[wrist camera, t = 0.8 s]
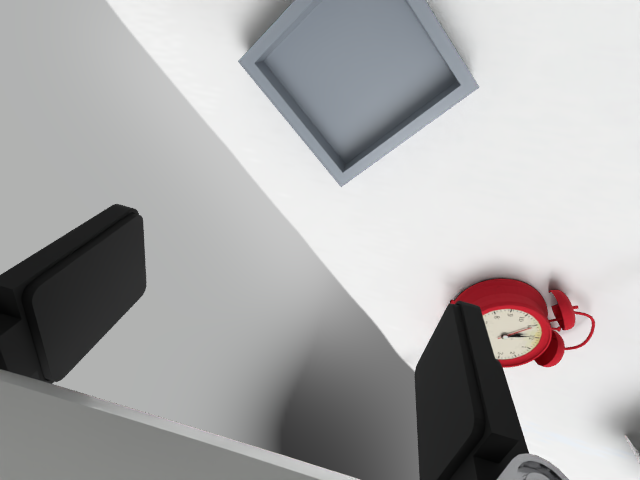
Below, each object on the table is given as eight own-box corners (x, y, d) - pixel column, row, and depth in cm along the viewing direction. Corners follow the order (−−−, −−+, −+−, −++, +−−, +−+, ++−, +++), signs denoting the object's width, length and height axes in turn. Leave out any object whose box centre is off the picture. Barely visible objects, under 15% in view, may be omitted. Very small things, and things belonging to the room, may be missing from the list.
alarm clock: (448, 293, 39) (621, 326, 33) (454, 262, 44) (605, 286, 38) (438, 363, 44) (587, 401, 38) (444, 329, 49) (577, 358, 43)
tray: (375, -73, 28) (372, -85, 25) (471, 81, 32) (479, 87, 29) (251, 58, 34) (237, 61, 31) (345, 174, 38) (341, 187, 35)
